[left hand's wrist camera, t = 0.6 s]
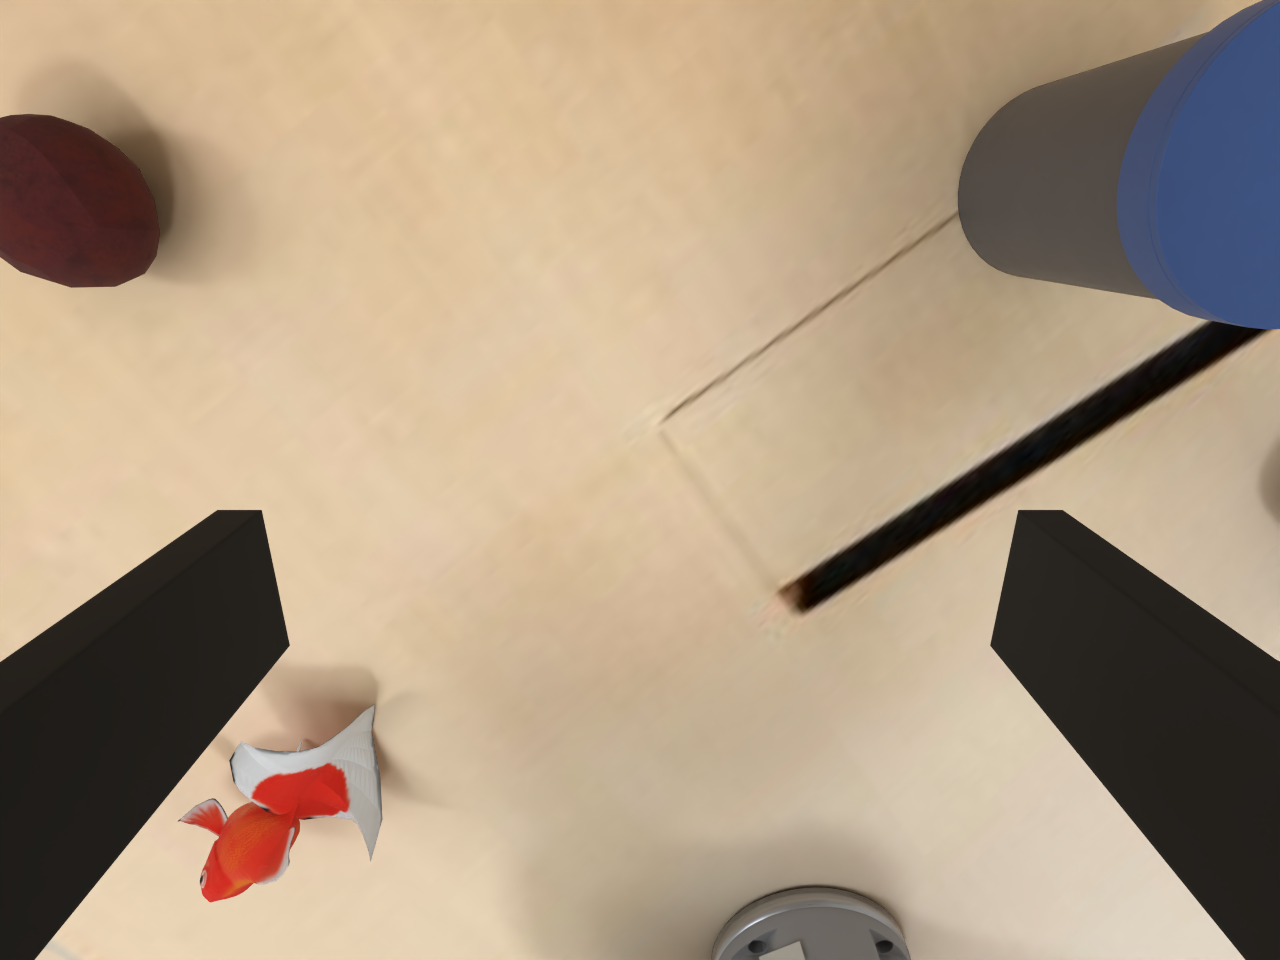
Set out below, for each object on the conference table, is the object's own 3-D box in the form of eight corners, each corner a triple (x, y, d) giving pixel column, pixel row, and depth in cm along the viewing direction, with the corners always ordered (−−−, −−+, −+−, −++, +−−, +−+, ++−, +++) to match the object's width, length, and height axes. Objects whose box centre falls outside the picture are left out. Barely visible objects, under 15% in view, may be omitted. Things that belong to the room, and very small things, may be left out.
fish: (105, 791, 44) (95, 929, 36) (322, 628, 48) (353, 723, 40) (231, 856, 50) (244, 984, 43) (413, 708, 54) (455, 803, 46)
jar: (940, 124, 35) (1144, 63, 21) (1130, 50, 34) (1481, -68, 20) (975, 302, 38) (1173, 354, 24) (1150, 240, 37) (1466, 255, 23)
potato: (108, 93, 34) (-19, 64, 28) (223, 232, 37) (132, 236, 30) (9, 183, 36) (-133, 176, 29) (126, 312, 38) (19, 332, 31)
